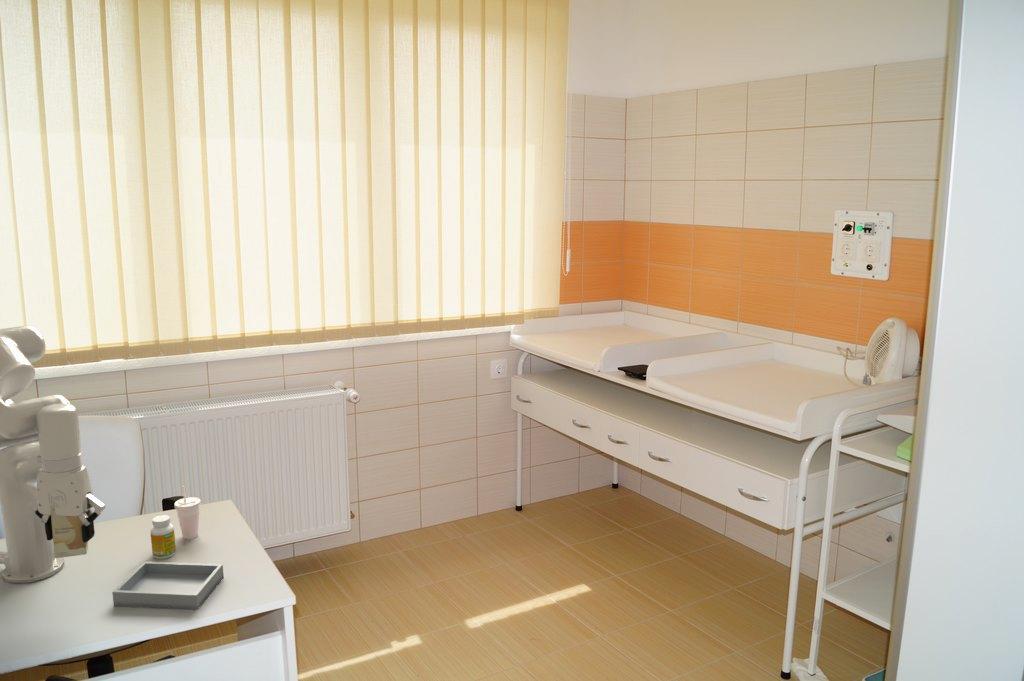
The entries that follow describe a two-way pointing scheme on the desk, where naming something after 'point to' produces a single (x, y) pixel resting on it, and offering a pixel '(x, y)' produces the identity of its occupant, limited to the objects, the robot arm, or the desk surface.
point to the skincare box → (67, 535)
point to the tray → (168, 585)
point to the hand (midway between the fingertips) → (70, 537)
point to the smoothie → (188, 515)
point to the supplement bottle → (162, 537)
